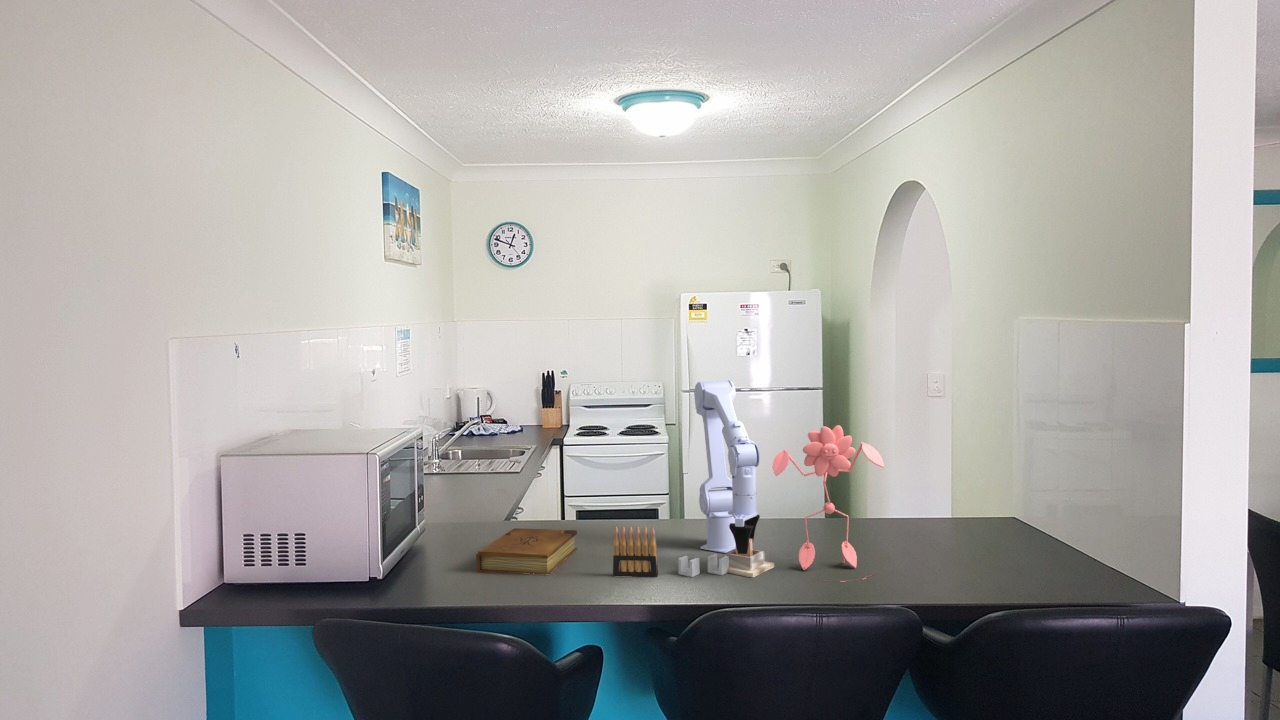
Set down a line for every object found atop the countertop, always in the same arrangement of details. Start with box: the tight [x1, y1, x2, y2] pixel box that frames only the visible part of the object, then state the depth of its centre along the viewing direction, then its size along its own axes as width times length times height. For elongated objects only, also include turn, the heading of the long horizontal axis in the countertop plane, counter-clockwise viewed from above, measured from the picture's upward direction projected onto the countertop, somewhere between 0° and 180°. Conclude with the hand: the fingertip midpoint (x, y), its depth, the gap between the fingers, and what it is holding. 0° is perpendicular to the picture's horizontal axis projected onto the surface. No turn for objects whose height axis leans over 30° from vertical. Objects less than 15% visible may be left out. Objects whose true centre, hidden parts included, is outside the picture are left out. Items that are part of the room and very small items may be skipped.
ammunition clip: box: [612, 525, 659, 578], centre depth 204 cm, size 11×2×12 cm, turn 82°
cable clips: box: [677, 553, 729, 578], centre depth 205 cm, size 8×9×4 cm
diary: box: [475, 527, 578, 575], centre depth 219 cm, size 23×19×6 cm
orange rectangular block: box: [735, 539, 754, 557], centre depth 207 cm, size 4×4×6 cm
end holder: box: [717, 549, 775, 578], centre depth 207 cm, size 10×10×4 cm
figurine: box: [772, 425, 885, 583], centre depth 202 cm, size 15×26×35 cm, turn 90°
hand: (745, 549), depth 207 cm, fingers open, 7 cm apart
